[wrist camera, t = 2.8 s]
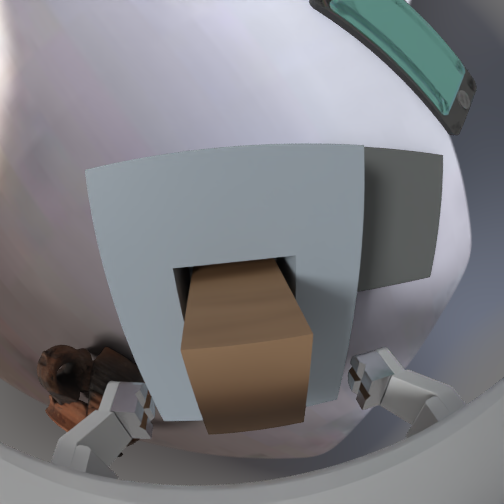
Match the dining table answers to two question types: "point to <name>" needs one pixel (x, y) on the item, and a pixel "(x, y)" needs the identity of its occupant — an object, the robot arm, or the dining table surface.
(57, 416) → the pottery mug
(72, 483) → the robot arm
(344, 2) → the smartphone
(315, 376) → the pocket holder
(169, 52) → the dining table surface
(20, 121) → the dining table surface
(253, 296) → the walnut block
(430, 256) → the rubber mat
